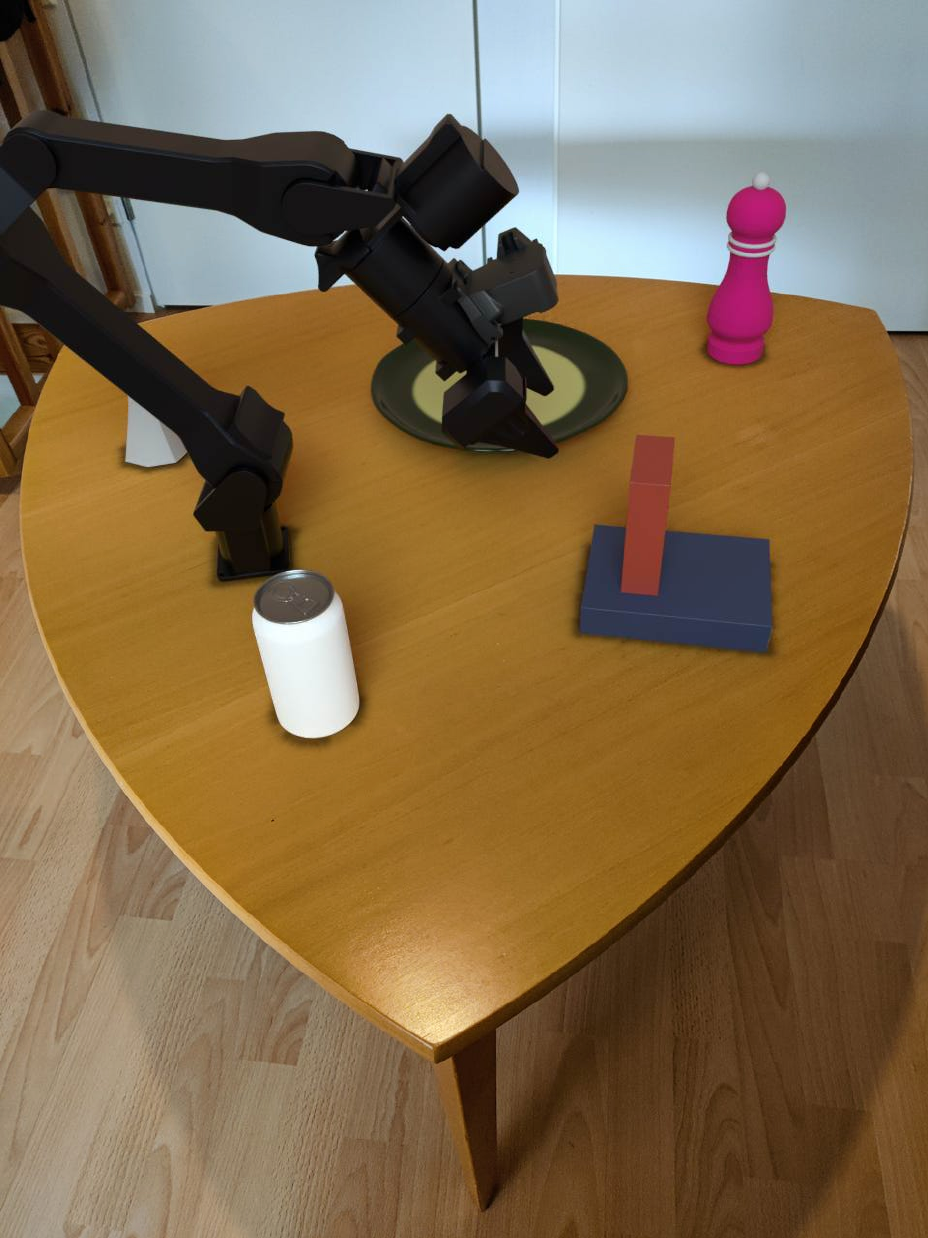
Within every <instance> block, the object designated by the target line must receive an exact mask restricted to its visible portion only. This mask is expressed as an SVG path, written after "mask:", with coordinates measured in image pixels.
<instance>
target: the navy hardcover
mask: <svg viewBox="0 0 928 1238" xmlns="http://www.w3.org/2000/svg"><path fill="white" fill-rule="evenodd" d="M625 535H626V526H619V525H607V524H598V523H597V524H596V523H595V524H594V525H593V531H592V538H591V544H590V549H589V550H590V551H589V555H588V562H587V568H586V574H585V579H584V587H583V591H582V597H581V604H580V613H579V614H580V615H579V634H585V635H595V636H603V637H613V638H622V639H630V640H642V641H651V642H659V643H670V644H679V645H688V646H696V647H697V646H699V647H705V648H706V647H708V648H715V649H716V648H717V649H718V648H719V649H727V650H737V651H745V652H753V653H754V652H756V653H764V654H767V652H768V648H769V644H770V639H771V635H772V632H773V631H772V630H773V606H772V577H771V576H772V573H771V549H770V548H771V547H770V543H771V542H770V539H769V538H760V537H749V536H748V537H747V536H737V535H736V536H735V535H726V534H725V535H724V534H713V533H702V532H701V533H700V532H690V531H679V530H678V531H677V530H668V529H666V531H665V540H664V548H663V556H662V565H661V573H660V582H659V590H658V596H653V595H643V594H632V593H622V592H621V583H622V571H623V559H624V547H625Z"/></svg>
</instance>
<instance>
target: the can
mask: <svg viewBox="0 0 928 1238" xmlns="http://www.w3.org/2000/svg"><path fill="white" fill-rule="evenodd" d="M344 609H345V608H344V605H343V602H342V599H341V597H340V595H339V594H338V593H337V591H336V590H335V587H334V584H333V582H332V580H330V579H329V578H328V577H327V576H326V575H324V574H323V573H321V572H319V571H316V570H311V569H303V568H302V569H301V568H299V569H297V568H296V569H290V570H289V571H285V572H281V573H279V574H276V575H271V577H268V578H267V579H266V580H264V581H263V582H262V583H261V584H260V585H259V587H258V588H257V589H256V591H255V593H254V596H253V610H252V615H251V620H252V621H251V622H252V627H253V631H254V635H255V638H256V639H255V640H256V643H257V647H258V650H259V654H260V658H261V662H262V666H263V670H264V674H265V677H266V681H267V685H268V688H269V692H270V696H271V699H272V703H273V707H274V710H275V714H276V716H277V720H278V723H279V724H280V725H281V726H282V727H283V729H285V730H286V731H287V732H288V733H290V734H292V735H293V736H297V737H300V738H305V739H323V738H327V737H331V736H333V735H336V734H337V733H339V732H341V731H342V730H343V729H345V728H346V727H347V726H349V725H350V724H351V722H352V721H353V720H354V719H355V718H356V715H357V714H358V711H359V708H360V696H359V688H358V683H357V682H358V681H357V676H356V671H355V670H356V669H355V665H354V660H353V659H354V658H353V653H352V647H351V642H350V637H349V631H348V626H347V625H348V624H347V621H346V620H347V619H346V614H345V610H344Z"/></svg>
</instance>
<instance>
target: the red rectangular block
mask: <svg viewBox="0 0 928 1238" xmlns="http://www.w3.org/2000/svg"><path fill="white" fill-rule="evenodd" d="M675 440H676V438H675V436H660V435H647V434H636V435H635V442H634V449H633V455H632V463H631V470H630V479H629V488H628V500H627V512H626V525H625V527H626V535H625V547H624V559H623V571H622V583H621V592H622V593H632V594H643V595H653V596H658V590H659V582H660V573H661V565H662V556H663V548H664V540H665V531H666V530H667V524H668V523H667V522H668V514H669V504H670V498H671V497H670V495H671V489H672V478H673V475H672V474H673V465H674V452H675Z"/></svg>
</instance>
